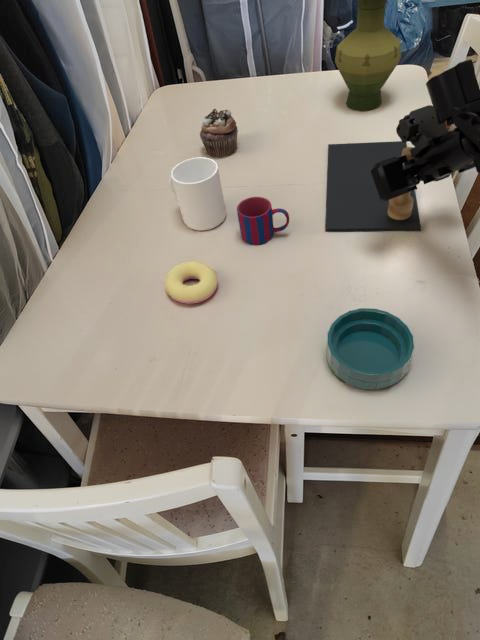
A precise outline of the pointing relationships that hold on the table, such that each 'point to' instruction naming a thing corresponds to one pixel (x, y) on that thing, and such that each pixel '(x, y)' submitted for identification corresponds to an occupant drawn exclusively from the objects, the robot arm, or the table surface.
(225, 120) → the cupcake
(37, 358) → the table surface
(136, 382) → the table surface
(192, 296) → the donut
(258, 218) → the cup
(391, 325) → the bowl
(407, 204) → the stick
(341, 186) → the mat
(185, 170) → the mug
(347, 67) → the vase
